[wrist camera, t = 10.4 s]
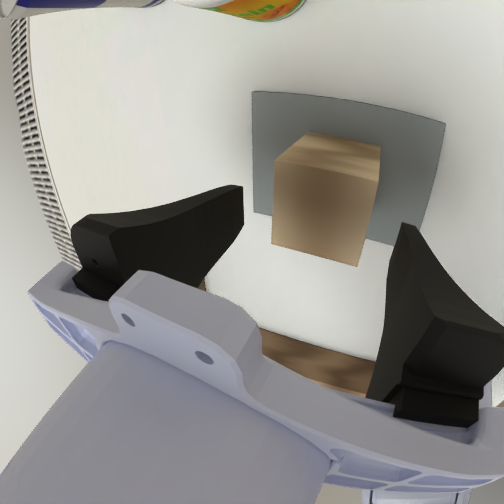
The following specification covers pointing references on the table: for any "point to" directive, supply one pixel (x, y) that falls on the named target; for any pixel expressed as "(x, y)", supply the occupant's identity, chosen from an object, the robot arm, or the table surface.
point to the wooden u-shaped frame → (317, 362)
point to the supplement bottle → (248, 8)
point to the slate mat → (360, 129)
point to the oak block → (325, 196)
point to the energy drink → (62, 6)
